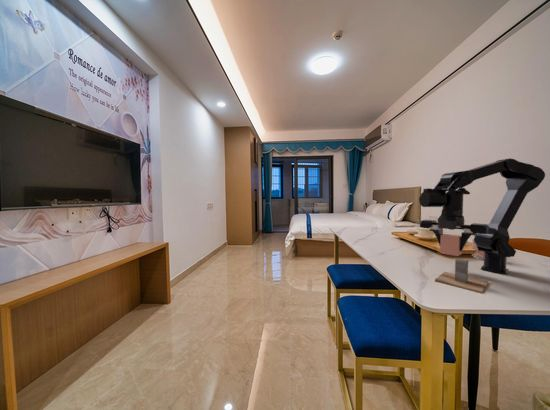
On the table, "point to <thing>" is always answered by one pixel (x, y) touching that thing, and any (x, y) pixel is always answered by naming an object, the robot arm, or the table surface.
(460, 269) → the taupe inverted t block
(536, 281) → the table surface
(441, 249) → the pink rectangular block
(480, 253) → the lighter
